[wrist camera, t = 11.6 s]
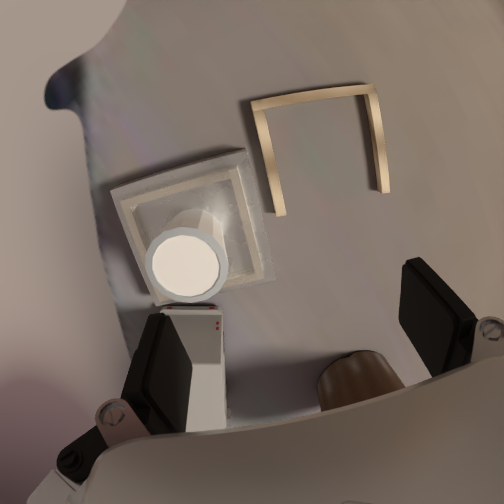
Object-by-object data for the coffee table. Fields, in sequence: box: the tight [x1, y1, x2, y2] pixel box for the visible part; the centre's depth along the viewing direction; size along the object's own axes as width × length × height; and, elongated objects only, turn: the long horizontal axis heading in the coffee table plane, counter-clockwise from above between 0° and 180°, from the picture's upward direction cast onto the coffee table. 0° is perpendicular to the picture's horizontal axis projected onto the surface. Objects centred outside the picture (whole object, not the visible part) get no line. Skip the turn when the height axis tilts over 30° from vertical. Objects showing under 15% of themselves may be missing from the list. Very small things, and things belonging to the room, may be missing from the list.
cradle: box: [250, 84, 390, 217], centre depth 30 cm, size 12×13×1 cm
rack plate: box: [110, 148, 277, 306], centre depth 31 cm, size 14×14×4 cm
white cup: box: [145, 208, 229, 303], centre depth 27 cm, size 7×7×7 cm
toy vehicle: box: [160, 306, 231, 432], centre depth 36 cm, size 9×18×10 cm, turn 179°
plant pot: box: [317, 351, 406, 412], centre depth 38 cm, size 16×16×16 cm
